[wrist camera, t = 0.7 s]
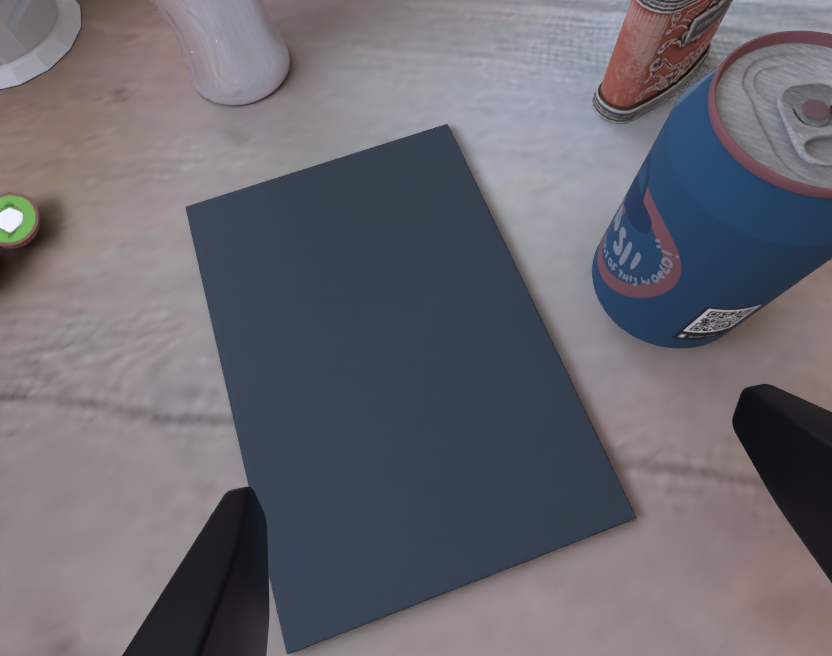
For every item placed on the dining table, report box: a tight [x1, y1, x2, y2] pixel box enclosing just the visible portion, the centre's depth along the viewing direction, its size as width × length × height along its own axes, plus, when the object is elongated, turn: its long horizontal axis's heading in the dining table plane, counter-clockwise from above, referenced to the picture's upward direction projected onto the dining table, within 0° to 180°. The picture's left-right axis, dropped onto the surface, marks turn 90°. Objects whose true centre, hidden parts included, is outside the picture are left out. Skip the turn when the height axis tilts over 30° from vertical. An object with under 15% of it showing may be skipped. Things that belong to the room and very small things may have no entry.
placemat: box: [186, 124, 636, 654], centre depth 25 cm, size 22×15×1 cm
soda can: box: [592, 31, 832, 348], centre depth 20 cm, size 7×7×12 cm
